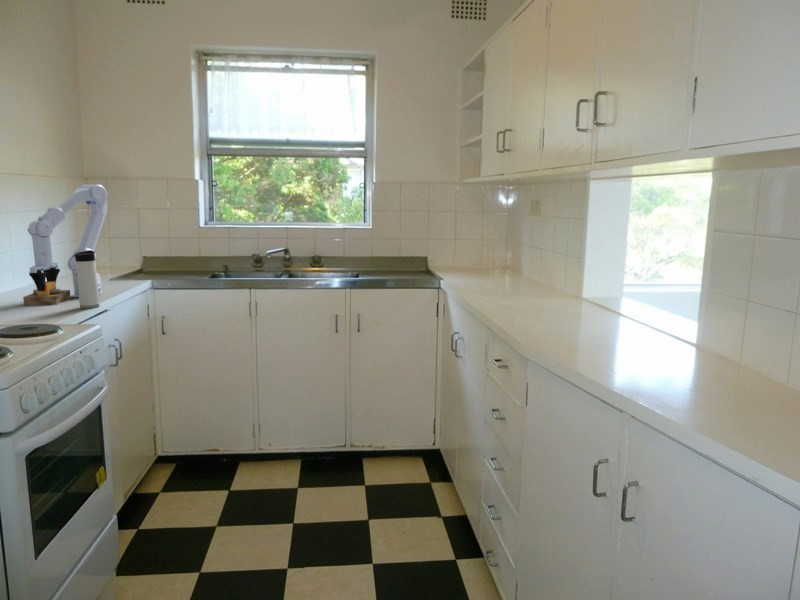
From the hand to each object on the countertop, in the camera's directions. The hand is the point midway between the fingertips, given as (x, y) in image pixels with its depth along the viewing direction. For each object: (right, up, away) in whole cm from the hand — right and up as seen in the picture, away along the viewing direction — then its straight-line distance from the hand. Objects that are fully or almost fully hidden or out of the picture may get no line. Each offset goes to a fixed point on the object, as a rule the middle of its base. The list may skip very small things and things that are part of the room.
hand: (46, 289), depth 228 cm
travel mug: (+22, -7, -11) cm, 25 cm away
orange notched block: (0, -4, +1) cm, 4 cm away
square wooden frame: (0, -4, +1) cm, 4 cm away
